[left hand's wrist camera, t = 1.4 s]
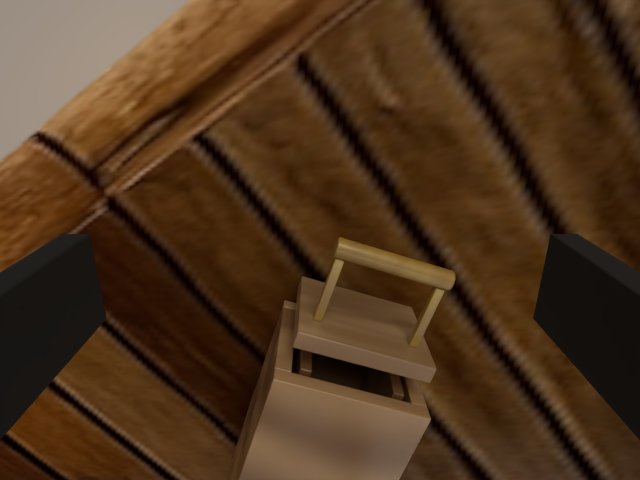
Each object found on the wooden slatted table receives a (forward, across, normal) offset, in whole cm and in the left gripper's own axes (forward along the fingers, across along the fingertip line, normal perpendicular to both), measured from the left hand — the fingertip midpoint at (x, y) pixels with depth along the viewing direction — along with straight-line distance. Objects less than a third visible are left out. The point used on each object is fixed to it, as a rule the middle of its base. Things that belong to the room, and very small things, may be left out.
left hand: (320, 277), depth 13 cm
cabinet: (+20, +1, +22) cm, 30 cm away
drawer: (+19, -1, +16) cm, 25 cm away
